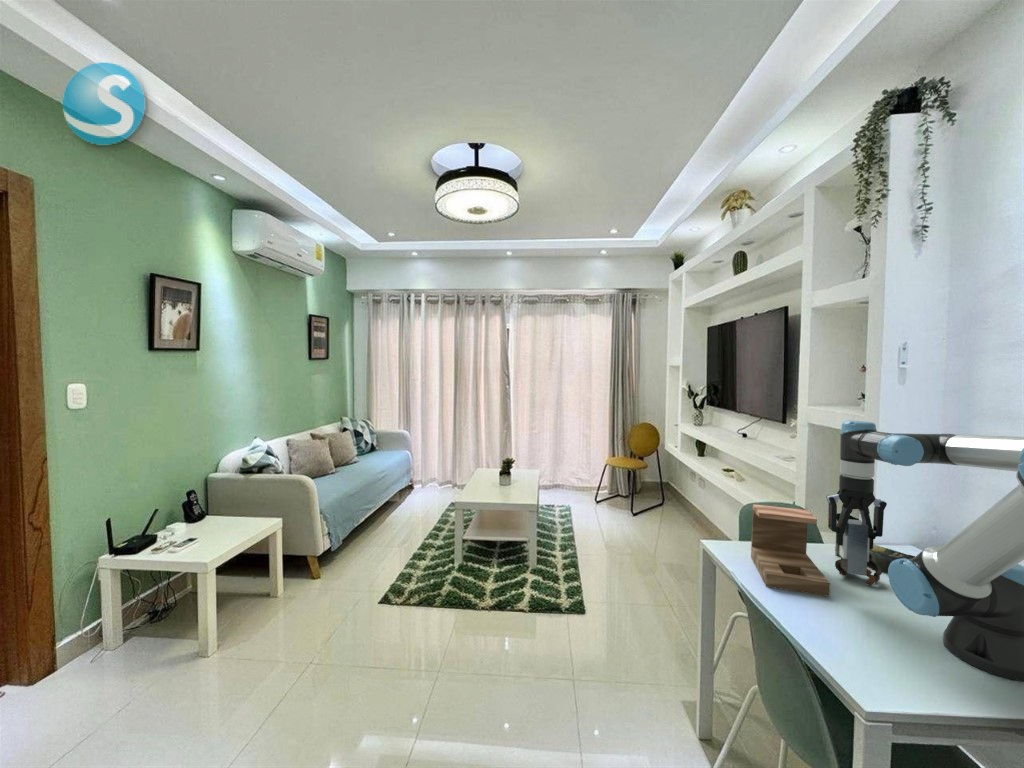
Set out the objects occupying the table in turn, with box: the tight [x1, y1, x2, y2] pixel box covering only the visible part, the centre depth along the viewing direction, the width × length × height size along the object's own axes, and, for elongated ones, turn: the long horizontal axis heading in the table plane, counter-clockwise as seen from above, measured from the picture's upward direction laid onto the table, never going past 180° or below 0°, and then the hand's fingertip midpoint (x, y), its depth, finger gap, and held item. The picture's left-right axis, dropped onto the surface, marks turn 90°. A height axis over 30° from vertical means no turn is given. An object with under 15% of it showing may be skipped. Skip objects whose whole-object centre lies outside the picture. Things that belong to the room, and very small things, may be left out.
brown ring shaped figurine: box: [834, 558, 883, 586], centre depth 131 cm, size 12×10×8 cm
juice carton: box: [834, 541, 916, 575], centre depth 142 cm, size 20×10×6 cm, turn 30°
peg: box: [840, 518, 868, 577], centre depth 118 cm, size 4×4×14 cm
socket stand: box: [750, 503, 831, 597], centre depth 133 cm, size 21×16×18 cm
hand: (853, 557), depth 118 cm, fingers closed on peg, 4 cm apart
